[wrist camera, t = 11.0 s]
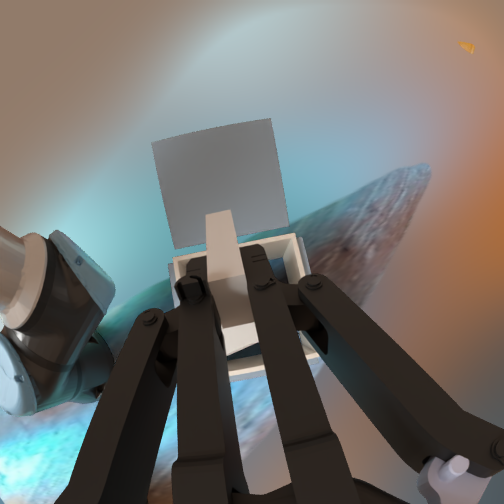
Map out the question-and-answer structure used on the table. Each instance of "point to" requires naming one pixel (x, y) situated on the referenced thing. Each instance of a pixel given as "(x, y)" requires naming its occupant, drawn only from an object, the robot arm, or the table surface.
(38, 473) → the table surface
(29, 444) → the table surface
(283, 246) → the carton
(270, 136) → the flap
